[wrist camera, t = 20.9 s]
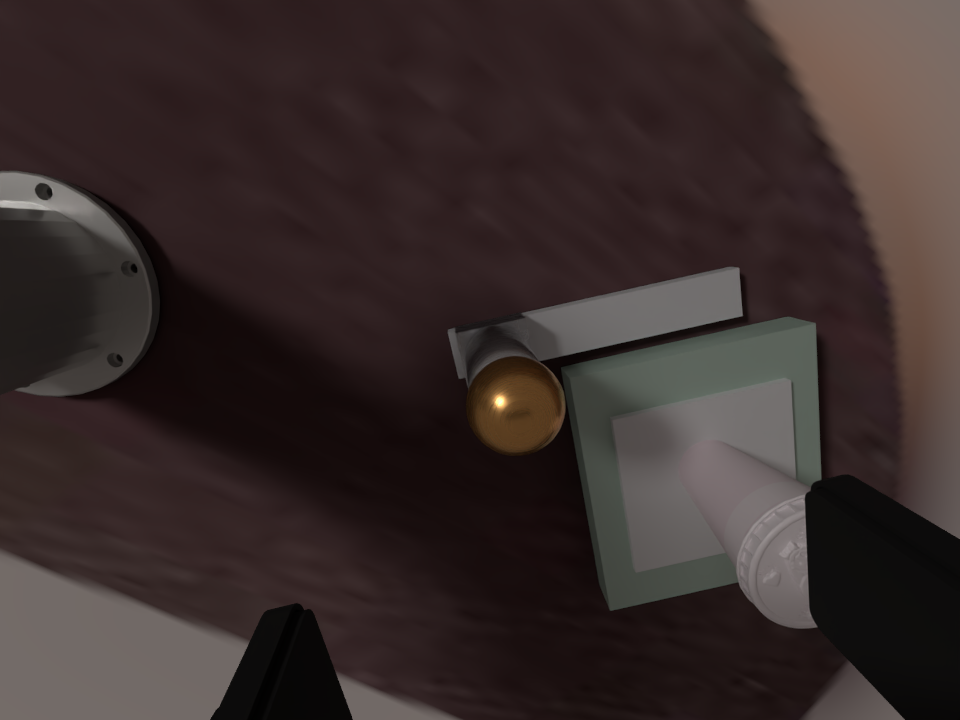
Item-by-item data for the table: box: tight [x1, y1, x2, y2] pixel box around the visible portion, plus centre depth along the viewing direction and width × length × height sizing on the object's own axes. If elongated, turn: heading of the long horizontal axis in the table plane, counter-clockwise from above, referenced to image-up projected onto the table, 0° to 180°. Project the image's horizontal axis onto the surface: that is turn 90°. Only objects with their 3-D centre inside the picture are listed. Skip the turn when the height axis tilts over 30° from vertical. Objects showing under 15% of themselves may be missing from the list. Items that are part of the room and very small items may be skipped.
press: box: [448, 267, 821, 611], centre depth 32 cm, size 22×21×3 cm
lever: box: [455, 312, 566, 456], centre depth 24 cm, size 4×4×12 cm
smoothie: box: [678, 440, 817, 628], centre depth 24 cm, size 6×6×14 cm
